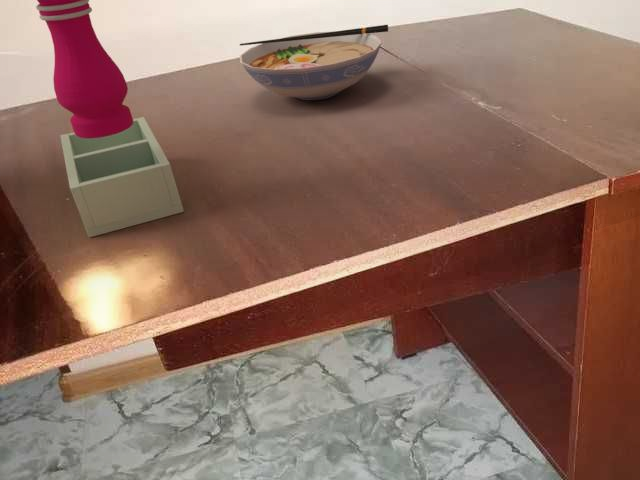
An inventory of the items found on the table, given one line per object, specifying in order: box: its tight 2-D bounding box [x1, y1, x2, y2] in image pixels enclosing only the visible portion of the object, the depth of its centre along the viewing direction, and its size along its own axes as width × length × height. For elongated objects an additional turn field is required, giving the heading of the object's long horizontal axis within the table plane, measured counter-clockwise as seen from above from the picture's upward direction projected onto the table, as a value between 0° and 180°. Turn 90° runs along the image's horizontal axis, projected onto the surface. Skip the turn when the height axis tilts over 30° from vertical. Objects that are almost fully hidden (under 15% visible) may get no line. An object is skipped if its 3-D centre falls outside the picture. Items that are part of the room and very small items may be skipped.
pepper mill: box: [35, 0, 134, 138], centre depth 73 cm, size 7×7×20 cm
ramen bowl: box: [239, 24, 389, 101], centre depth 113 cm, size 25×23×8 cm
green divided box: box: [59, 116, 185, 239], centre depth 85 cm, size 10×20×6 cm, turn 27°
